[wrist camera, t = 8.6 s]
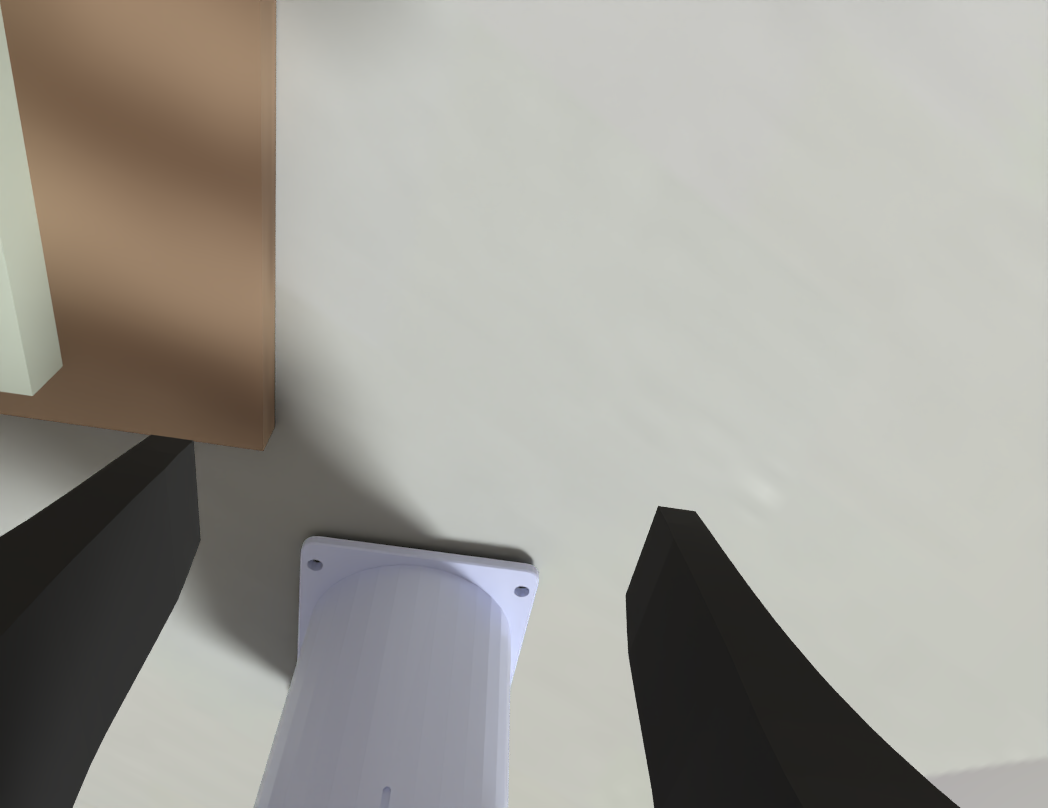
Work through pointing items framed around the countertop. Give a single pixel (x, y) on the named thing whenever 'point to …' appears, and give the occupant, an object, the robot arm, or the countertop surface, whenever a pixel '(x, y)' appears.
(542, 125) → the countertop surface
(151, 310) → the board
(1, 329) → the panel
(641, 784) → the countertop surface
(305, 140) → the countertop surface
